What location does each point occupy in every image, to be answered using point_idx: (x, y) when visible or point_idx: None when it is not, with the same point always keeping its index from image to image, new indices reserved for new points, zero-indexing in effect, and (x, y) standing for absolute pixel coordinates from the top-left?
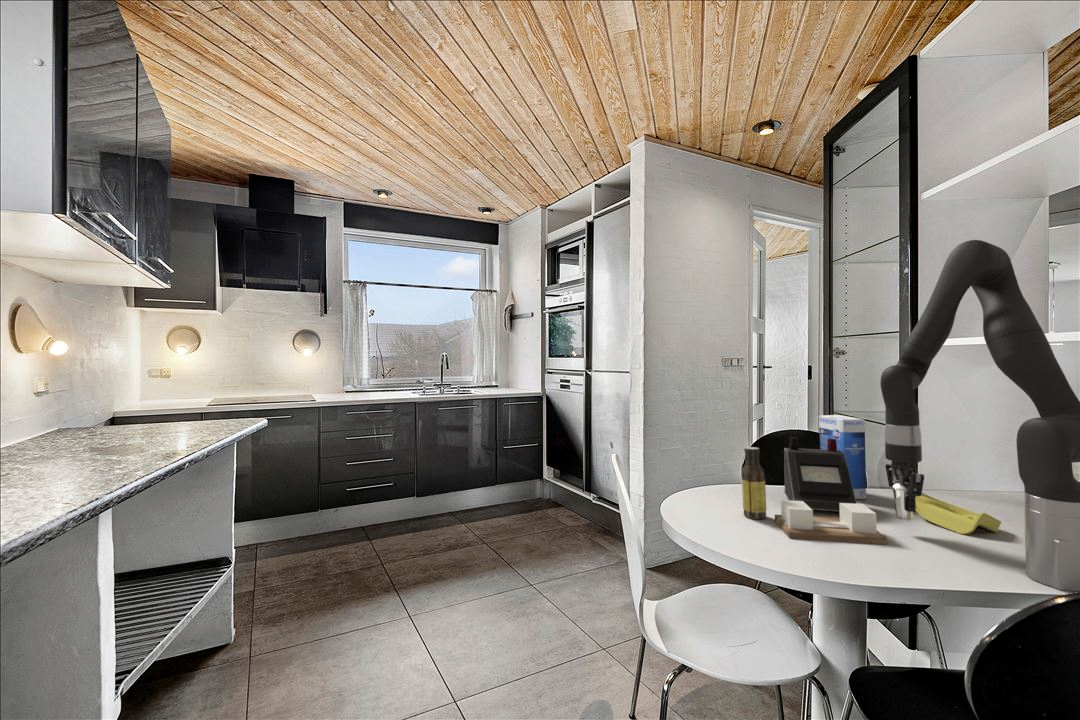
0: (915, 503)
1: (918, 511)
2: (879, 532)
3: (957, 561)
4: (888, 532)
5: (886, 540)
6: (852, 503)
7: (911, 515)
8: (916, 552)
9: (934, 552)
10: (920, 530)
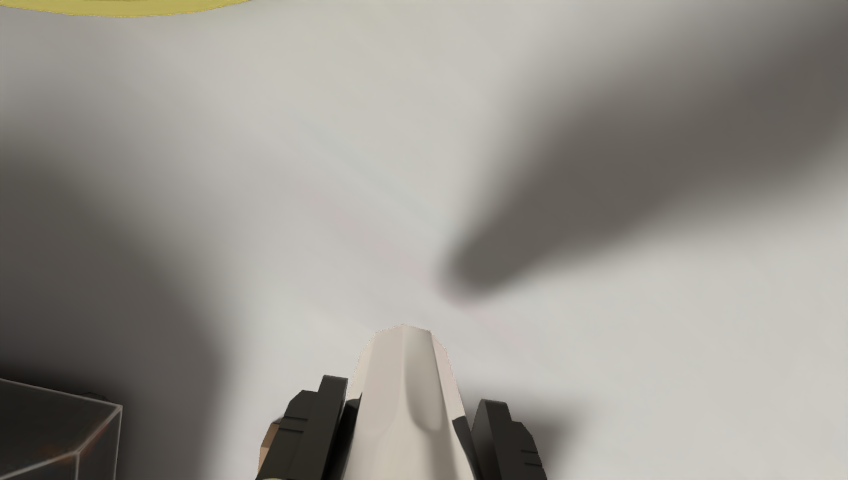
0: (520, 452)
1: (46, 2)
2: None
3: (749, 316)
4: None
5: None
6: (78, 470)
7: (446, 362)
8: (629, 406)
9: (644, 337)
10: (346, 183)
